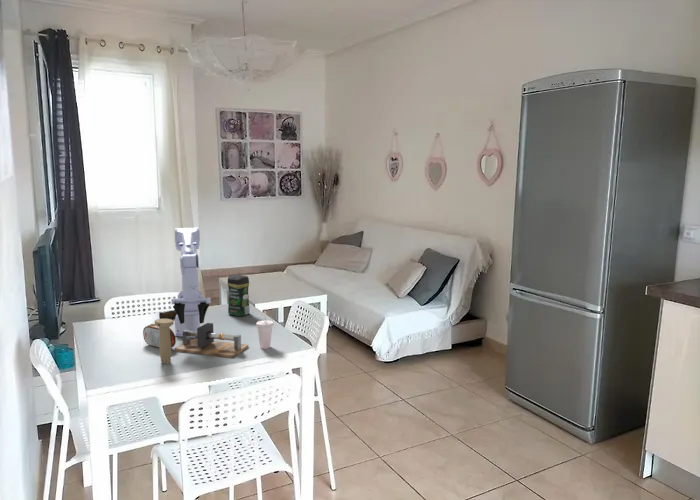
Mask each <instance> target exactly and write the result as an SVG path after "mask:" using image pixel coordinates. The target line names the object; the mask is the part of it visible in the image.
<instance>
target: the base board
mask: <svg viewBox="0 0 700 500" xmlns="http://www.w3.org/2000/svg"><path fill="white" fill-rule="evenodd" d="M246 349H249V344H245V343H241V349H240V350H238V351H236V350H234V342H225V341H218V340H214V342H212V343H211V344H209V345H207V346H206V347H204V348H202V347H198V338H190V343H189V344H187V345H183V343H181V344H180V345H179V346H176V347H175V348H174V352H179V353H180V352H181V353H187V354H196V355H197V354H198V355H205V356H213V357H214V356H215V357H222V358H231V359H234V358H235V357H236V356H238V355H239V354H241V353H242V352H244V351H245V350H246Z"/></svg>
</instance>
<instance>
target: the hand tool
mask: <svg viewBox="0 0 700 500" xmlns="http://www.w3.org/2000/svg"><path fill="white" fill-rule="evenodd" d="M176 315H177V313H176V311H175V310H174V309H173V310H167V311H163V312H162V311H161V312H159V313H158V316H159V318H158V319H173V318H175V317H176Z"/></svg>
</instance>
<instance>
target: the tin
mask: <svg viewBox="0 0 700 500" xmlns="http://www.w3.org/2000/svg"><path fill="white" fill-rule="evenodd" d="M169 330H170V339H171V349H172V348H173V347H174V346H175V345H176V341H177V339H176V336H175V333H174V330H172V329H171V328H169ZM142 335H143V340H144V341H145V343H146V345H148V346H149V347H153V348H158V349H159V327H158V326H156V325H155V323H151V324H148V325H146V326H145V327H144V328H143V330H142Z"/></svg>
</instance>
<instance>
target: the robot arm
mask: <svg viewBox="0 0 700 500" xmlns="http://www.w3.org/2000/svg"><path fill="white" fill-rule="evenodd" d="M200 236H201V232H200V227H198V226H197V227H175V228H174V243H175V249H176V250H177V251H180V257H179V263H180V265H179V266H180V267H179V268H180V272H181V284H182V290H181V291H179V292H178V293H177V298H171V301H170V302H171V305H173V306H172V308H173V310H175V311H176V313H177V315H176V317H174V329H175V333H174V334H175V337H182V338H183V331H184V330H186V329H187V330H190V331H197V328H199V327H200V326H201V324H205V317H206V313H207V311H208V309H209V306H210V304H212V301H211V300H212V299H211V297H203V293H202V292H201V291H200V289H199V288H200V287H199V267H200V261H199V260H200V259H199V255H198V253H197V251H198V249H199V248H200V241H201V237H200ZM190 339H196V337H194V336H190Z"/></svg>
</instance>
